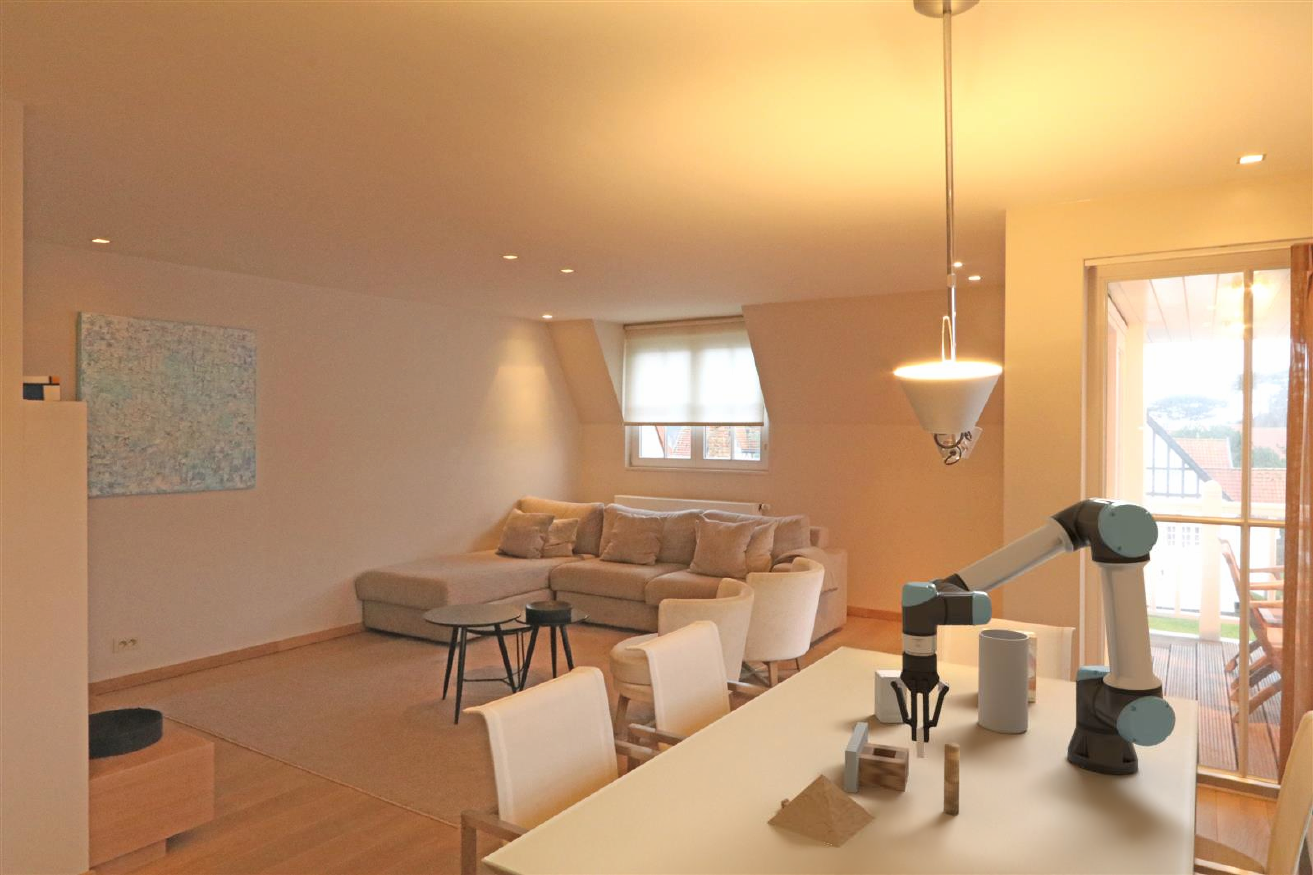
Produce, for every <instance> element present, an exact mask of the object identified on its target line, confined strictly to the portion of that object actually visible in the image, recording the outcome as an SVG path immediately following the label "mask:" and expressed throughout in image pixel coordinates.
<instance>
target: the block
mask: <svg viewBox="0 0 1313 875" xmlns="http://www.w3.org/2000/svg"><path fill="white" fill-rule="evenodd" d="M909 760H910V748H909V747H901V746H900V747H899V746H893V745H887V744H878V743H871V742H868V743H865V744H864V746H863V749H862V751H861V754H860V757H859V785H862V786H870V787H877V788H882V787H883V789H888V790H896V791H901V792H902V791H903V792H905V791H906V788H907V783H908V779H909V770H910V769H909V767H910V766H909V765H910V761H909Z"/></svg>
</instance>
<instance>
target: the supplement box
mask: <svg viewBox="0 0 1313 875" xmlns="http://www.w3.org/2000/svg"><path fill="white" fill-rule="evenodd" d="M901 672H902V670H900V669H897V670H896V669H889V670H887V669H883V670H882V669H879V670H878V669H877V670H876V669H875V670H874V710H873V711H874V715H875V717H876V718H877V719H878V721H879V722H880V723H883V724H885V723H887V724H889V723H890V724H891V723H893V724H904V723H903V720H902V716H901V712H900V708H899V704H898V701H897V697H896V693H895V691H894V689H893V688H892V686H891V681H892V679H896V678H898V677H900V674H901ZM901 688H902V692H903V696H904V699H905V703H906V707H907V708H908V688H907V687H906V685H905V684H904V683H903V681H902V687H901Z"/></svg>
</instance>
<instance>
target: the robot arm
mask: <svg viewBox="0 0 1313 875" xmlns="http://www.w3.org/2000/svg"><path fill="white" fill-rule="evenodd" d="M1157 524H1158V523H1157V521H1156V519H1155V518H1154V516H1153V515H1152V513H1151V512H1150V511H1148V510H1147V509H1146V508H1145V507H1143V506H1142V505H1140V504H1137V503H1133V502H1131V501H1127V500H1121V499H1110V498H1105V497H1089V498H1086V499H1083V500H1080V501H1078V502H1076V503H1074V504H1071V505H1069V506H1067V507H1066V508H1064V509H1062V510H1060V511H1059V512H1056V513H1055V514H1053V515H1051V516H1049V517H1047V518H1046V519H1045V524H1044V525H1042V526H1040V527H1038V528H1037V529H1035V530H1033V531H1031V532H1029V533H1027V534H1025V535H1023V536H1021V537H1020V538H1018V539H1015V540H1014V541H1012V542H1011V543H1009V544H1007V545H1005V546H1003V547H1002V548H999V549H998V550H995V551H993V552H992V553H991V554H990V553H989V554H988V555H987V556H985V557H983V558H981V559H979V560H977V561H975V562H974V563H971V564H970V565H968V566H966V567H965V568H962V569H960V570H959V571H957V572H955V573H953V574H950V575H948V576H947V577H945V578H933V579H931V580H930V581H928V582H926V581H923V582H922V581H909V582H906V583H904V584H903V585H902V587H901V601H900V605H901V649H902V650H903V651H902V653H901V654H902V655H901V656H902V657H901V658H902V659H901V660H902V661H901V664H902V665H901V666H902V669H901V674H900V677H898V678H896V679H892V681H891V686H892V688H893V689H894V691H895V693H896V697H897V701H898V704H899V708H900V712H901V716H902V720H903V723H902V724H904V725H907V726H909V727H910V728H911V729H910V730H911V732H910V734H911V736H910V737H911V741H912V742H916V758H917V759H918V758H919V759H924V758H925V755H926V754H925V744H928V743H929V742H930V739H931V738H930V729H932V728H936V727H937V726H938V724H939V719H940V714H941V711H942V707H943V705H944V704H943V703H944V699H945V696H946V695H947V693H949V690H950V683H946V682H944V681H943V680H941V678H940V675H939V674H938V655H937V653H936V652H937V651H938V643H937V642H938V636H937V635H938V634H937V630H938V629H937V628H938V626H973V627H975V626H983V625H988V624H989V623H990V622H991V620H992V616H993V605H992V600H991V598H990V596H989V594H988V593H990V592H991V591H994V590H995V589H997V588H998V587H999V588H1000V586H1003V585H1004V584H1007V583H1009V582H1010V581H1012V580H1014V579H1015V578H1017V577H1020V576H1021V575H1023V574H1026V573H1027V572H1029V571H1031V570H1032V569H1035V568H1036V567H1037V568H1038V566H1040V565H1042V564H1044V563H1046V562H1047V561H1049V560H1051V559H1053V558H1055V557H1057V556H1060V555H1061V554H1063V553H1066V554H1073V553H1074V552H1076V551H1078V550H1080V549H1084V548H1085V549H1086V548H1089V547H1090V555H1091V562H1093V564H1095V565H1096V566H1097V567H1098V568H1099V571H1100V582H1101V592H1102V593H1101V594H1102V601H1103V604H1102V605H1103V613H1104V621H1105V622H1104V624H1105V633H1106V643H1107V644H1106V645H1107V655H1108V665H1107V666H1106V665H1084V666H1080V667H1079V668H1078V669H1077V670H1076V677H1075V728H1074V730H1073V733H1072V735H1071V739H1070V741H1069V743H1068V746H1067V759H1068V760H1069V761H1070V762H1071V763H1072V764H1074V765H1076V766H1078V767H1080V768H1083V769H1085V770H1088V771H1092V772H1097V773H1101V774H1107V775H1128V774H1133V773H1136V772H1138V769H1139V758H1138V754H1137V751H1136V749H1135V746H1134V745H1138V746H1140V747H1141V746H1142V747H1153V746H1157V745H1159V744H1161V743H1163V742H1165V741H1166V739H1167V738H1168V737H1170V736H1171V735H1172V733H1173V731H1174V730H1175V727H1176V721H1177V720H1176V719H1177V718H1176V713H1175V711H1174V709H1173V707H1172V706H1171V704H1170V703H1169V702H1168V701H1167V700H1166V699H1164V691H1163V683H1162V679H1160V678H1159V677H1158V676H1156V674H1155V673H1154V669H1153V658H1152V648H1151V637H1150V627H1149V618H1148V617H1149V615H1148V607H1147V597H1146V596H1147V594H1146V585H1145V573H1144V568H1145V567H1146V565H1147V564H1149V563H1150V561H1151V554H1150V553H1151V551H1152V550H1153V547H1154V546H1155V545H1156V544H1157V542H1158V538H1159V527H1158V525H1157ZM902 681H903V683H904V684H905V685H906V687H907V691H908V692H910V716H909V712H908V706H907V707H906V703H905V699H904V696H903V692H902V688H901V687H902ZM937 685H938V687H937V691H938V695H937V699H936V703H935V706H934V712H933V716H932V719H930V694H931V692H933V690H934V689H935V687H936V686H937ZM918 694H921V695H922V725H921V724H918V722H919V721H918Z"/></svg>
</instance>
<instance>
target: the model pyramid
mask: <svg viewBox="0 0 1313 875" xmlns="http://www.w3.org/2000/svg"><path fill="white" fill-rule="evenodd" d="M780 806H781V807H780V808H781V809H780V810H779V811H778V812H777V813H776V814H775V815H774V816H772V817H771V819H768V821H767V822H766V823H767V824H769V825H772V826H776V827H779V828H781V829H783V830H786V829H787V831H789V830H790V832H793V833H795V834H798V833H799V834H798V835H801V836H803V837H807V838H809V839H812V838H813V840H815V839H816V841H818V840H819V841H818V842H822V843H824V842H825V844H827V843H829V844H828V845H830V844H832V845H831V846H832V847H835V846H836V847H835V848H838V847H839V848H840V847H841V845H842V846H843V845H844V844H846V842H848V841H849V840H850V839H851V838H853V837H854V836H855V835H857V833H858V834H859V833H860V831H862V829H864V828H865V827H867V826H868V825H869V824H870V823H871V822H873V821H874V820H875V819H876V818H875V817H874V816H873V815H872V814H871V813H870V812H868V811H867V810H866V809H865V808H863V806H861V805H860V804H859V803H857V802H856V801H855V800H854V799H853V798H851V797H850V796H849V795H848V794H847V793H846V792H844V790H842V789H841V788H839V787H838V786H837V785H836V784H835V783H834V782H832V781H831V780H830V779H829V778H828V777H826V776H825V775H824V774H823V773H821V774H820V775H819V776H818V777H816V778H815V779H814V780H813V781H812V782H811V783H810V784H808V785H807V786H806V787H805V788H804V789H803V790H801V792H799V794H797V795H796V796H795V797H794V798H792V800H790V799H789V798H784V799H783V800H781V801H780ZM873 819H874V820H873ZM872 820H873V821H872ZM867 824H868V825H867Z"/></svg>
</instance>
